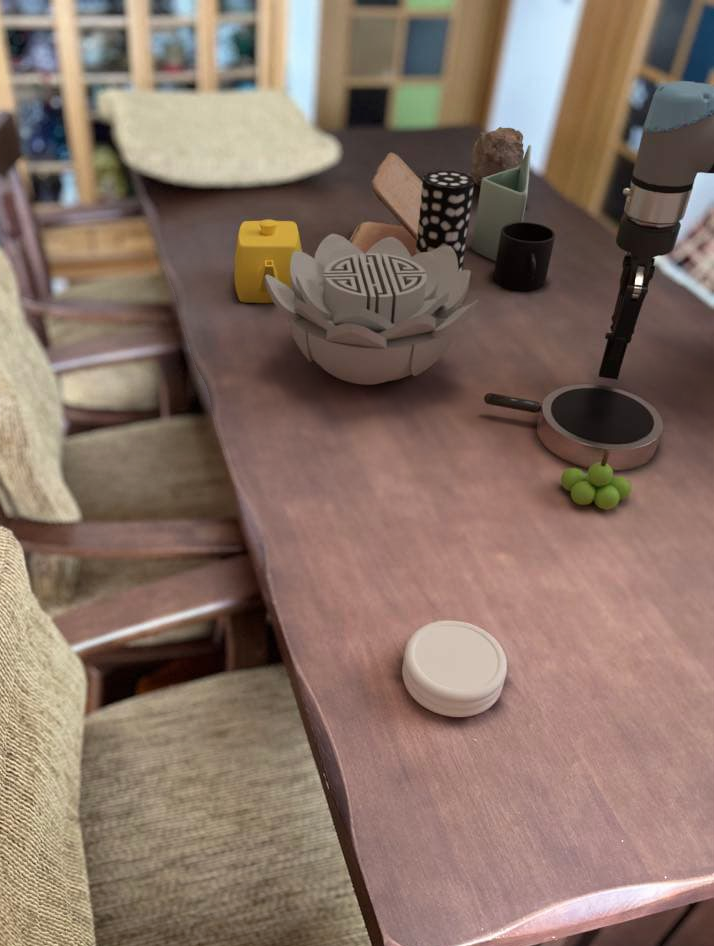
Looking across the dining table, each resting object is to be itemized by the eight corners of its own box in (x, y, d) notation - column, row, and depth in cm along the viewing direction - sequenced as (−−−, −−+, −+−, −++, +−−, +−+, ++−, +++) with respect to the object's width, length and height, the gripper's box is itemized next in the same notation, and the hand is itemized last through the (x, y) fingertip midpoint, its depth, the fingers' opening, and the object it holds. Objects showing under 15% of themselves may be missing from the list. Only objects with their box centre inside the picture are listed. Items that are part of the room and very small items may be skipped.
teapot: (304, 315, 140) (305, 247, 132) (232, 315, 140) (228, 247, 132) (303, 266, 155) (303, 202, 147) (237, 266, 155) (234, 202, 147)
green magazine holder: (471, 233, 168) (486, 129, 155) (510, 236, 167) (528, 131, 154) (471, 266, 156) (488, 156, 143) (514, 269, 155) (534, 159, 142)
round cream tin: (502, 727, 78) (508, 704, 76) (397, 711, 79) (400, 688, 77) (502, 647, 85) (508, 625, 83) (406, 634, 86) (409, 611, 84)
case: (445, 281, 151) (456, 192, 140) (334, 267, 155) (337, 179, 144) (460, 239, 166) (471, 155, 155) (359, 227, 170) (363, 145, 159)
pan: (657, 417, 118) (664, 395, 116) (653, 481, 107) (662, 458, 104) (490, 386, 124) (494, 365, 121) (470, 444, 112) (474, 422, 110)
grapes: (628, 492, 105) (645, 444, 100) (627, 518, 101) (644, 470, 96) (559, 479, 107) (572, 431, 102) (556, 505, 103) (569, 456, 98)
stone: (532, 213, 177) (546, 138, 167) (488, 215, 176) (500, 140, 166) (499, 178, 193) (510, 108, 183) (458, 180, 192) (467, 109, 182)
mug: (501, 298, 146) (510, 248, 140) (488, 269, 155) (496, 221, 149) (554, 298, 146) (565, 248, 140) (538, 269, 155) (548, 221, 149)
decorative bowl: (264, 321, 138) (262, 233, 128) (438, 318, 140) (450, 230, 130) (270, 422, 116) (268, 324, 106) (478, 416, 118) (495, 319, 108)
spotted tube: (465, 291, 148) (482, 176, 134) (446, 309, 142) (462, 191, 129) (423, 281, 151) (435, 167, 138) (403, 298, 146) (414, 181, 132)
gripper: (622, 197, 113) (584, 351, 129) (621, 232, 104) (580, 394, 119) (680, 203, 111) (634, 358, 127) (684, 239, 102) (634, 402, 118)
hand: (608, 375), depth 123 cm, fingers closed
